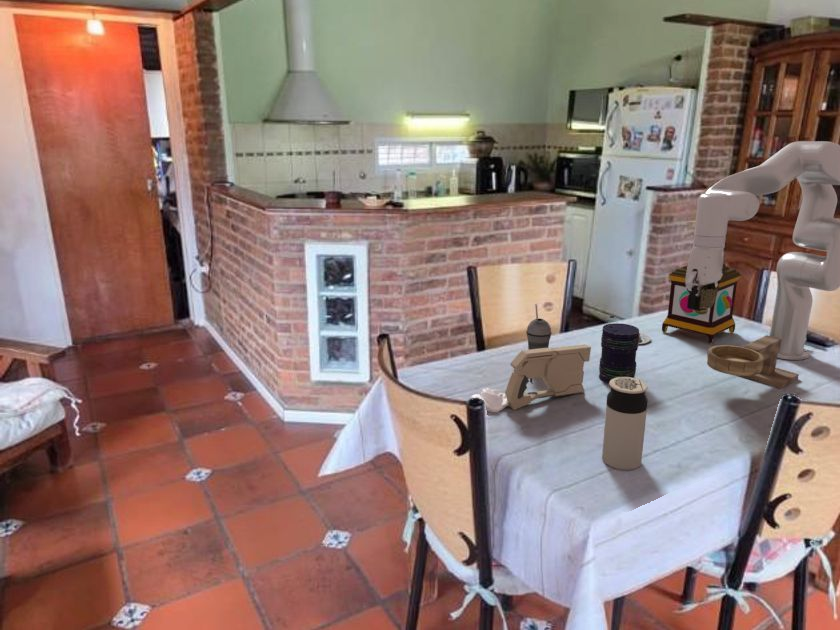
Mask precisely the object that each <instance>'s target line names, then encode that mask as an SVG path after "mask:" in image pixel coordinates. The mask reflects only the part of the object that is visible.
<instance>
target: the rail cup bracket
mask: <svg viewBox="0 0 840 630" xmlns="http://www.w3.org/2000/svg"><path fill="white" fill-rule="evenodd" d="M781 341H782V339H780V338H776V337H772V336H769V335H767V334H766V335H764V336H762V337H760V338H758V339H756V340H753V341H751V342H750V343H747V344H744V345H743V346H740V345H739V346H738V345H730V344H723V345H722V344H721V345H719V344H718V345H713V346H712V347H709V348H708V349H707V354H706V355H707V356H706V358H707V361H706V364H707V366H708V367H709V368H710V369H712V370H714V371H716V372H718V373H723V374H726V375H732V376H737V377H743V378H745V379H748V380H752V381H755V382H759V383H761V384H765V385H768V386H771V387H775V388H779V389H783V388H785V387H787V386H789V385H790V384H792V383H794V382H796V381H797V380H798V379H799V373H797V372H796V373H795V372H793V371H792V372H791V371H789V370H785V369H781V368H778V367H776V365H777V361H778V360H777V359H778V358H777V355H778V353H779V352H780V347H781Z"/></svg>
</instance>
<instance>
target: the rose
mask: <svg viewBox="0 0 840 630" xmlns="http://www.w3.org/2000/svg"><path fill="white" fill-rule="evenodd" d="M470 397H471V399H472V398H479V399H482V400H484V402H485V405H486V409H485V410H486V411H487V412H491V413H498V412H500V411H502V410H504V409H505V408H507V406H509V405H508V404H509V401H508V400H507V398H506V394H505V392H504V393H503V392H501V391H500V389H491V388H490V387H486V388H482V390H481V392H480V393H479V394H478V393H476V394H472V395H471V396H470Z"/></svg>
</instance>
